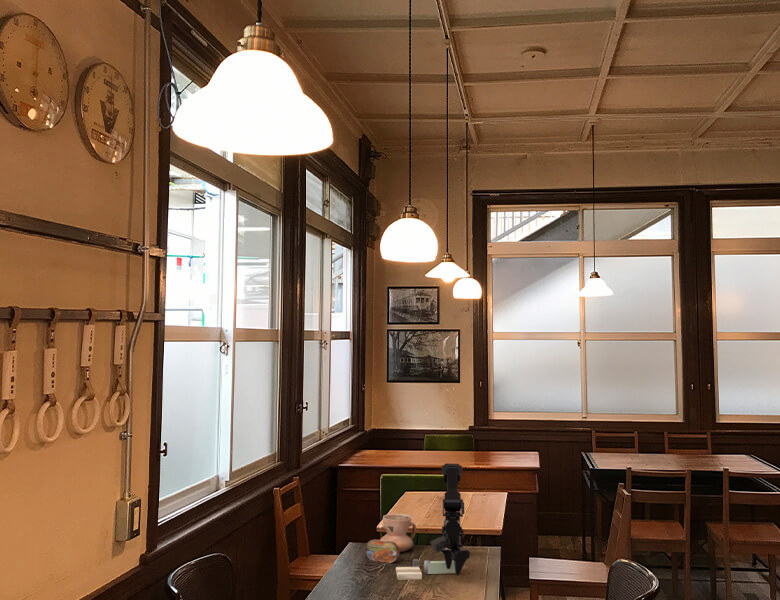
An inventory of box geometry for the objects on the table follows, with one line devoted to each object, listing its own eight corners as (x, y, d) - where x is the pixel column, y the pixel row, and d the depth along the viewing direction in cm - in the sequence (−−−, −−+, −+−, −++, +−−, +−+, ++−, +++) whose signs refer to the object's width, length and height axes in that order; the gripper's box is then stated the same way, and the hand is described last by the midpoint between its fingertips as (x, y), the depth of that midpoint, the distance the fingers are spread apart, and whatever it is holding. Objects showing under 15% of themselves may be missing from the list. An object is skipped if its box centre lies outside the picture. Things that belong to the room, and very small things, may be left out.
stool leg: (424, 573, 270) (424, 562, 270) (423, 571, 272) (423, 560, 273) (458, 573, 271) (458, 561, 271) (457, 571, 274) (457, 559, 274)
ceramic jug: (384, 556, 294) (385, 521, 295) (371, 547, 307) (372, 514, 308) (423, 552, 301) (424, 519, 302) (409, 543, 314) (409, 511, 315)
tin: (364, 559, 290) (364, 538, 290) (368, 557, 292) (368, 537, 293) (396, 564, 283) (397, 543, 283) (400, 562, 285) (400, 541, 286)
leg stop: (412, 566, 280) (412, 559, 280) (417, 566, 280) (417, 559, 280) (413, 568, 278) (413, 560, 278) (418, 568, 278) (418, 560, 278)
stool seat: (395, 572, 272) (395, 567, 273) (418, 571, 273) (418, 566, 273) (398, 579, 264) (398, 574, 264) (421, 579, 264) (421, 573, 265)
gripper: (423, 525, 273) (424, 567, 272) (442, 537, 256) (443, 581, 254) (450, 523, 277) (450, 564, 275) (470, 535, 259) (470, 578, 258)
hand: (452, 571), depth 266 cm, fingers open, 8 cm apart
